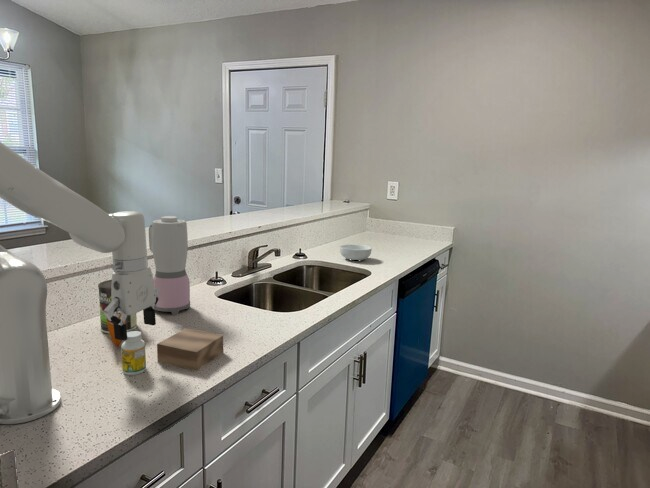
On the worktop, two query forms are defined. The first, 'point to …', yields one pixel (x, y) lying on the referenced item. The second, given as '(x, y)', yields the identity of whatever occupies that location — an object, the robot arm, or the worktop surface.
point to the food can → (105, 301)
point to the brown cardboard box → (190, 349)
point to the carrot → (111, 331)
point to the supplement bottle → (133, 354)
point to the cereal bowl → (355, 251)
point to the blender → (170, 263)
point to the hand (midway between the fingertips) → (136, 331)
